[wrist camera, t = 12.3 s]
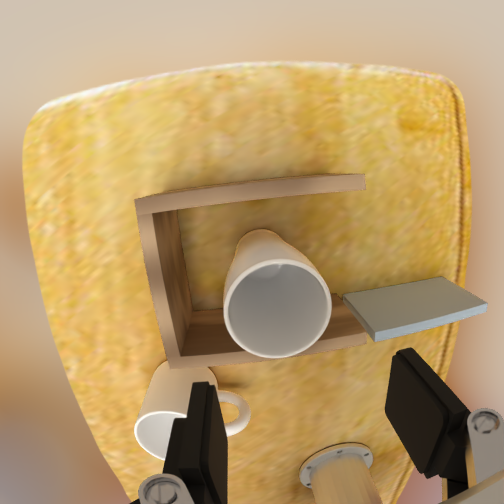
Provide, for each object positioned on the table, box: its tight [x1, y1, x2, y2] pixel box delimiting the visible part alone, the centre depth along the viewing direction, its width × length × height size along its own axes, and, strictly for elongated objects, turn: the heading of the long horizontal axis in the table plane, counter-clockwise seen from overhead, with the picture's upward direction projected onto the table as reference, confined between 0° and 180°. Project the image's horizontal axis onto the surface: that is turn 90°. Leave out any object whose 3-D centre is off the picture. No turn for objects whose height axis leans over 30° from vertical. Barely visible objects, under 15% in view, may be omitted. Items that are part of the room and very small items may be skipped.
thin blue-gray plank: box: [343, 277, 488, 342], centre depth 31 cm, size 14×1×10 cm, turn 96°
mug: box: [134, 360, 251, 461], centre depth 32 cm, size 12×8×10 cm
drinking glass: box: [223, 229, 332, 358], centre depth 26 cm, size 7×7×15 cm
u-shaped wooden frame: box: [134, 174, 367, 369], centre depth 29 cm, size 14×17×10 cm
